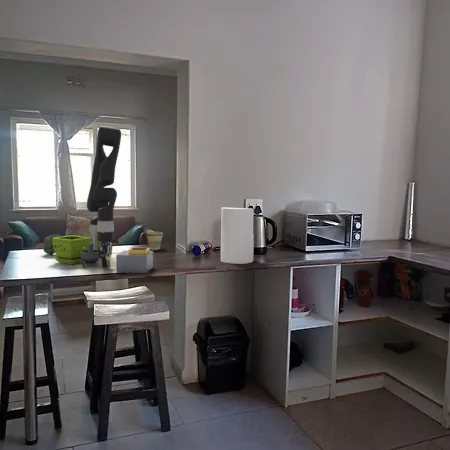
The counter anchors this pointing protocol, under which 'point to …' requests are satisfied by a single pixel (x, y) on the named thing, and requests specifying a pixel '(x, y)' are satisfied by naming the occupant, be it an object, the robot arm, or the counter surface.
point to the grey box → (134, 260)
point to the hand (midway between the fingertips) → (105, 266)
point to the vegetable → (50, 244)
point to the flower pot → (70, 248)
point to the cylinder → (237, 235)
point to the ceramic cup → (154, 240)
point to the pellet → (108, 262)
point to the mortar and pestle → (90, 255)
